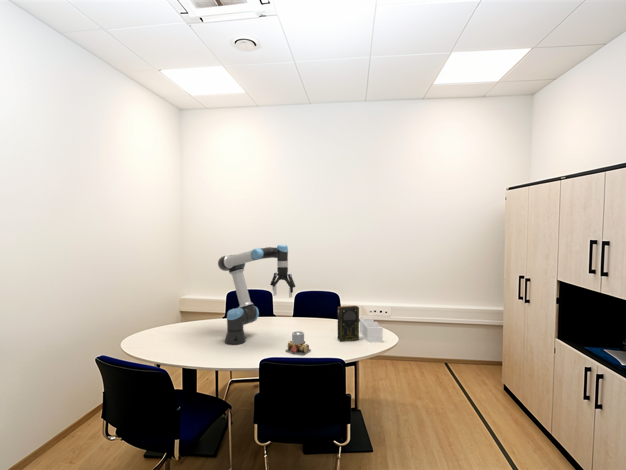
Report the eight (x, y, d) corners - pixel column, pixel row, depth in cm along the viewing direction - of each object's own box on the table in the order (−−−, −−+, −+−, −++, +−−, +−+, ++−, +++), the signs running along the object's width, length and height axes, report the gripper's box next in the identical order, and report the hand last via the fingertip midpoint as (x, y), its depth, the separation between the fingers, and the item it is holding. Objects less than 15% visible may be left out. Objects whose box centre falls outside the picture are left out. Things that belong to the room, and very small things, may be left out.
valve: (284, 352, 233) (284, 333, 233) (293, 347, 242) (293, 329, 242) (302, 356, 226) (302, 337, 226) (310, 350, 235) (310, 332, 235)
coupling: (296, 339, 240) (296, 330, 240) (306, 341, 236) (306, 332, 236) (289, 342, 233) (289, 333, 233) (299, 344, 229) (299, 335, 229)
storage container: (359, 332, 277) (359, 318, 277) (373, 332, 278) (373, 318, 278) (367, 342, 252) (367, 327, 252) (382, 342, 253) (382, 327, 253)
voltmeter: (340, 342, 252) (340, 308, 252) (336, 338, 261) (336, 305, 260) (360, 340, 256) (360, 307, 256) (355, 337, 265) (355, 304, 264)
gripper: (265, 266, 250) (265, 295, 251) (294, 268, 237) (294, 299, 238) (271, 265, 257) (271, 293, 257) (300, 267, 244) (300, 297, 244)
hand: (282, 296), depth 247 cm, fingers open, 13 cm apart
